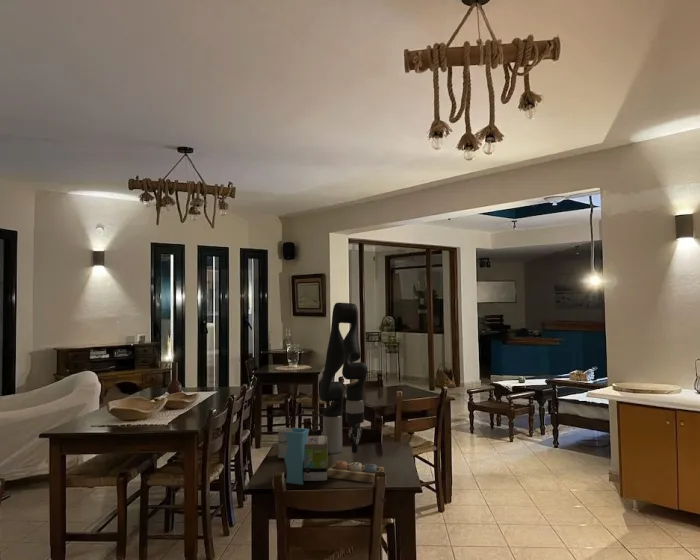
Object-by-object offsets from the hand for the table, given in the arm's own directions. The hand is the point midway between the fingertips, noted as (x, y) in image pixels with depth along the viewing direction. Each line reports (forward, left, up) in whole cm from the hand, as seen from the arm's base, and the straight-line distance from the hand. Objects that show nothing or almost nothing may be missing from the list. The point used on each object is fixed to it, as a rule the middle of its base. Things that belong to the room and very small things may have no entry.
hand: (354, 452), depth 221 cm
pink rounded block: (-6, 0, -9) cm, 11 cm away
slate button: (+7, 0, -9) cm, 11 cm away
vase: (-20, -13, -10) cm, 26 cm away
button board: (0, 0, -10) cm, 10 cm away
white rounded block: (0, 0, -9) cm, 9 cm away
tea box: (-16, -5, -10) cm, 19 cm away
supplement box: (-39, +15, -10) cm, 43 cm away
